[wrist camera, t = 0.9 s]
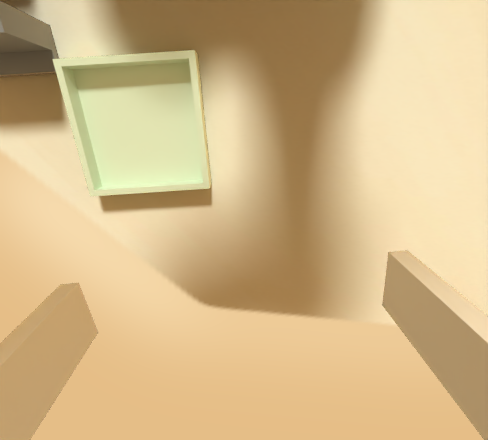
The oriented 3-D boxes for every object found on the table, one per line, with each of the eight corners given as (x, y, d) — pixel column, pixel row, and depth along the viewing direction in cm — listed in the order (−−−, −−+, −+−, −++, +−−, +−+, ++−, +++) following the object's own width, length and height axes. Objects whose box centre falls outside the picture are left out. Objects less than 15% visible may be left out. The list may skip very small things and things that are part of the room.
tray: (67, 64, 29) (52, 58, 27) (198, 55, 29) (194, 49, 27) (100, 191, 34) (90, 196, 32) (211, 183, 35) (209, 188, 32)
